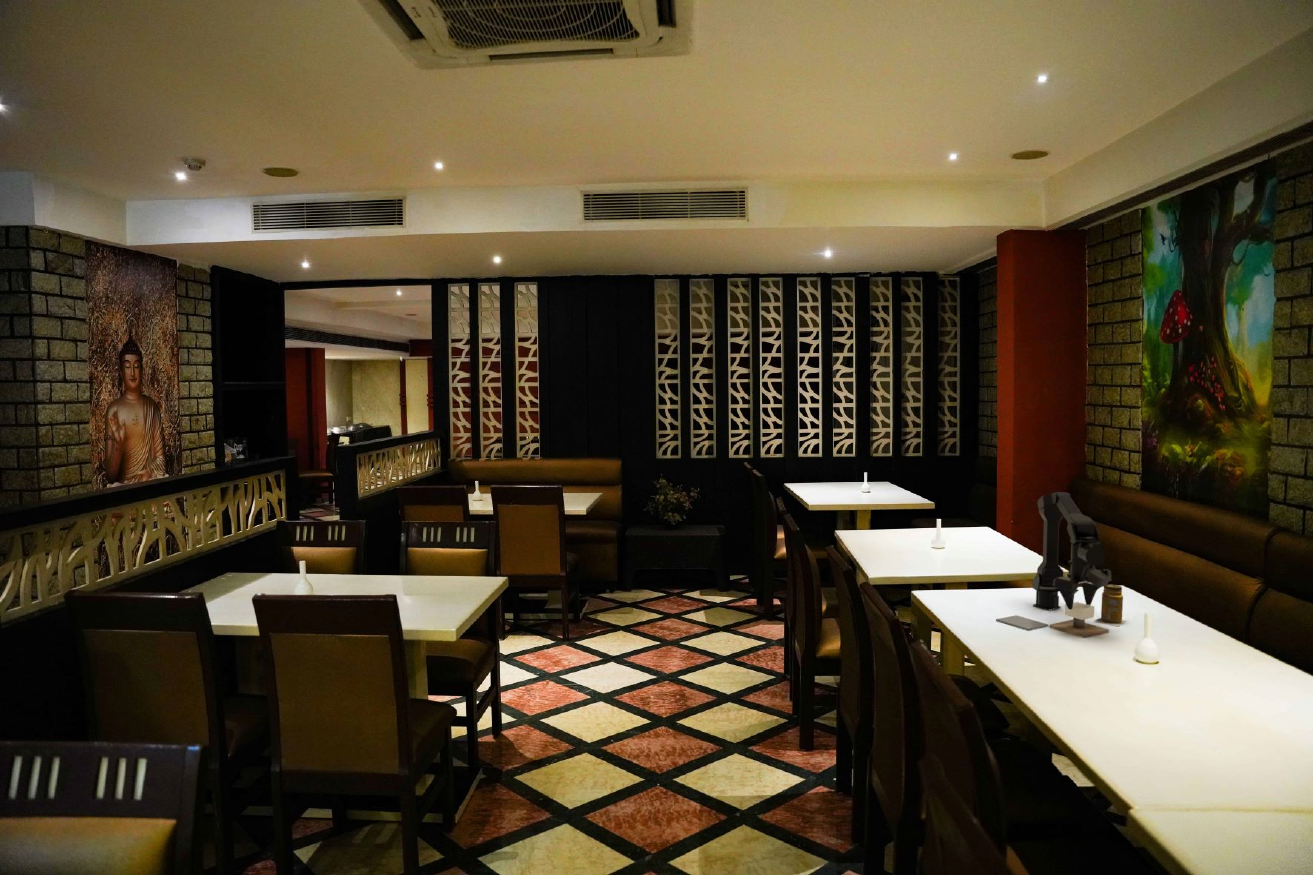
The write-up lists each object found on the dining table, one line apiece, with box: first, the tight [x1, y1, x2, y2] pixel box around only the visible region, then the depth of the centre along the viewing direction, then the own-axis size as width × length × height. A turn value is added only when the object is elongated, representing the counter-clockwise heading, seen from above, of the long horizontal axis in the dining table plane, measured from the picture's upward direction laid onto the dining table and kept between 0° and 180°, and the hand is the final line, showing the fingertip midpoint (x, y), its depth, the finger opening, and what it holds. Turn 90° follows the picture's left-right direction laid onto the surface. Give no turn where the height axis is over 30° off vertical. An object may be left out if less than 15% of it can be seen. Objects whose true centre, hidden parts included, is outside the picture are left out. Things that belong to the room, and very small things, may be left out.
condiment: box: [1094, 583, 1127, 627], centre depth 259 cm, size 7×8×12 cm
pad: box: [995, 615, 1050, 632], centre depth 257 cm, size 12×10×1 cm
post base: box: [1048, 617, 1110, 639], centre depth 250 cm, size 12×12×7 cm
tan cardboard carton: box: [1064, 601, 1095, 620], centre depth 250 cm, size 6×6×4 cm
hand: (1079, 607), depth 250 cm, fingers open, 9 cm apart
